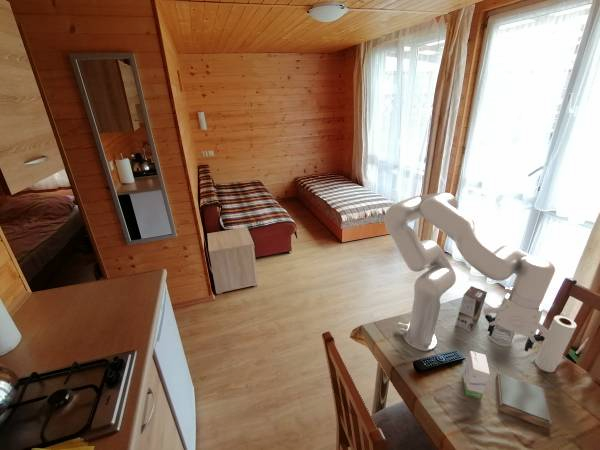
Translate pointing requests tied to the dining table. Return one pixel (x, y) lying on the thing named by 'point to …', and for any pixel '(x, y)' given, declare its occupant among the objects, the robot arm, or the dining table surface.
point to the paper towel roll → (555, 343)
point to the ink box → (476, 374)
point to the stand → (522, 400)
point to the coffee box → (471, 308)
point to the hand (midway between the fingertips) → (507, 340)
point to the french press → (501, 335)
